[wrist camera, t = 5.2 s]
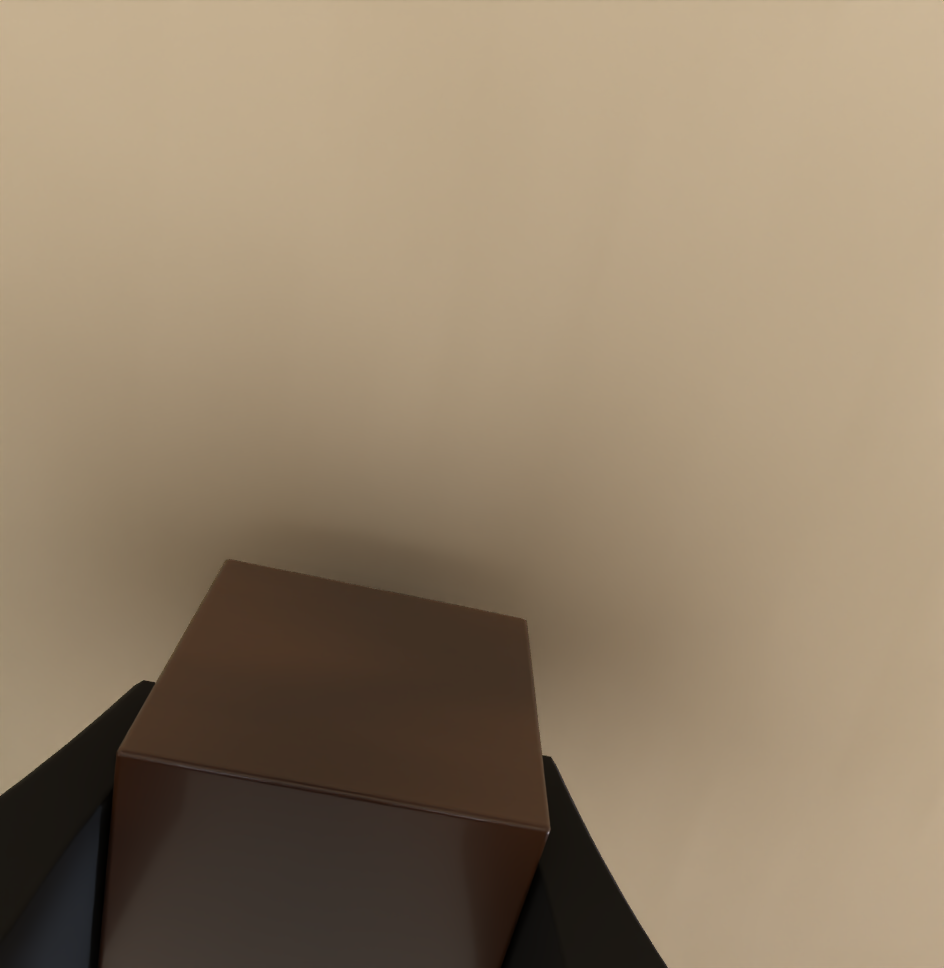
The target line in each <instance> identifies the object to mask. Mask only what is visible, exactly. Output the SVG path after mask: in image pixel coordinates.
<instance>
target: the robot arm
mask: <svg viewBox="0 0 944 968" xmlns="http://www.w3.org/2000/svg"><path fill="white" fill-rule="evenodd" d="M154 685H155V682H150V681H145V680H143V681H142V682H140V683H138V684H136V685H135V686H133V687H132V688H131V689H130V690H129V691H128V692H127V693H126V694H124V695H123V696H122V697H121V698H120V699H119V700H118V701H117V702H116V703H114V704H113V705H112V706H111V707H110V708H109V709H108V710H106V711H105V712H104V713H103V714H102V715H101V716H100V717H98V718H97V719H96V720H95V721H94V722H93V723H91V724H90V725H89V726H88V727H87V728H85V729H84V730H83V731H82V732H81V733H80V734H78V735H77V736H76V737H75V738H74V739H72V740H71V741H70V742H69V743H68V744H66V745H65V746H64V747H63V748H61V749H60V750H59V751H58V752H56V753H55V754H54V755H52V756H51V757H50V758H49V759H47V760H46V761H45V762H44V763H42V764H41V765H40V766H39V767H37V768H36V769H35V770H34V771H32V772H31V773H30V774H28V775H27V776H26V777H25V778H23V779H22V780H21V781H20V782H18V783H17V784H16V785H14V786H13V787H12V788H10V789H9V790H8V791H6V792H5V793H3V794H2V795H1V796H0V968H98V959H99V947H100V936H101V924H102V913H103V901H104V890H105V878H106V867H107V855H108V844H109V832H110V821H111V809H112V798H113V786H114V775H115V763H116V752H117V750H118V748H119V747H120V745H121V743H122V741H123V740H124V738H125V736H126V734H127V733H128V731H129V729H130V727H131V726H132V724H133V722H134V720H135V718H136V717H137V715H138V713H139V711H140V710H141V708H142V706H143V704H144V703H145V701H146V699H147V697H148V696H149V694H150V692H151V690H152V689H153V687H154ZM542 758H543V767H544V776H545V785H546V793H547V802H548V811H549V820H550V829H551V830H550V833H549V836H548V839H547V841H546V844H545V847H544V850H543V852H542V855H541V858H540V861H539V864H538V866H537V869H536V872H535V875H534V877H533V880H532V883H531V886H530V889H529V891H528V894H527V897H526V900H525V902H524V905H523V908H522V911H521V914H520V916H519V919H518V922H517V925H516V927H515V930H514V933H513V936H512V939H511V941H510V944H509V947H508V950H507V952H506V955H505V958H504V961H503V964H502V966H501V968H668V967H667V966H666V964H665V963H664V961H663V959H662V958H661V956H660V955H659V953H658V952H657V950H656V949H655V947H654V945H653V944H652V942H651V941H650V939H649V937H648V936H647V934H646V933H645V931H644V929H643V928H642V926H641V925H640V923H639V921H638V920H637V918H636V916H635V915H634V913H633V911H632V910H631V908H630V906H629V905H628V903H627V901H626V899H625V898H624V896H623V894H622V892H621V891H620V889H619V887H618V885H617V883H616V882H615V880H614V878H613V876H612V874H611V873H610V871H609V869H608V867H607V866H606V864H605V862H604V860H603V858H602V857H601V855H600V853H599V851H598V849H597V847H596V845H595V843H594V841H593V840H592V838H591V836H590V834H589V832H588V830H587V828H586V826H585V824H584V822H583V820H582V818H581V816H580V814H579V812H578V810H577V808H576V806H575V804H574V802H573V800H572V798H571V795H570V793H569V791H568V789H567V787H566V785H565V783H564V781H563V779H562V777H561V775H560V772H559V770H558V768H557V766H556V764H555V763H554V761H553V759H552V758H551V757H550V756H544V755H542Z"/></svg>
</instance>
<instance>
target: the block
mask: <svg viewBox="0 0 944 968" xmlns="http://www.w3.org/2000/svg"><path fill="white" fill-rule="evenodd" d="M550 830H551V829H550V820H549V811H548V802H547V793H546V785H545V776H544V767H543V758H542V750H541V741H540V732H539V723H538V714H537V706H536V697H535V688H534V679H533V670H532V662H531V653H530V644H529V635H528V626H527V621H526V620H525V619H523V618H518V617H513V616H508V615H503V614H498V613H493V612H488V611H483V610H478V609H473V608H468V607H464V606H459V605H454V604H449V603H444V602H439V601H434V600H429V599H424V598H419V597H414V596H409V595H404V594H399V593H394V592H390V591H385V590H380V589H375V588H370V587H365V586H360V585H355V584H350V583H345V582H340V581H335V580H330V579H325V578H320V577H315V576H311V575H306V574H301V573H296V572H291V571H286V570H281V569H276V568H271V567H266V566H261V565H256V564H251V563H246V562H241V561H237V560H232V559H229V560H226V561H225V562H224V564H223V565H222V567H221V569H220V571H219V572H218V574H217V576H216V578H215V580H214V581H213V583H212V585H211V587H210V588H209V590H208V592H207V594H206V595H205V597H204V599H203V601H202V602H201V604H200V606H199V608H198V609H197V611H196V613H195V615H194V616H193V618H192V620H191V622H190V623H189V625H188V627H187V629H186V631H185V632H184V634H183V636H182V638H181V639H180V641H179V643H178V645H177V646H176V648H175V650H174V652H173V653H172V655H171V657H170V659H169V660H168V662H167V664H166V666H165V667H164V669H163V671H162V673H161V675H160V676H159V678H158V680H157V682H156V683H155V685H154V687H153V689H152V690H151V692H150V694H149V696H148V697H147V699H146V701H145V703H144V704H143V706H142V708H141V710H140V711H139V713H138V715H137V717H136V718H135V720H134V722H133V724H132V726H131V727H130V729H129V731H128V733H127V734H126V736H125V738H124V740H123V741H122V743H121V745H120V747H119V748H118V750H117V752H116V763H115V775H114V786H113V798H112V809H111V821H110V832H109V844H108V855H107V867H106V878H105V890H104V901H103V913H102V924H101V936H100V947H99V959H98V968H501V966H502V964H503V961H504V958H505V955H506V952H507V950H508V947H509V944H510V941H511V939H512V936H513V933H514V930H515V927H516V925H517V922H518V919H519V916H520V914H521V911H522V908H523V905H524V902H525V900H526V897H527V894H528V891H529V889H530V886H531V883H532V880H533V877H534V875H535V872H536V869H537V866H538V864H539V861H540V858H541V855H542V852H543V850H544V847H545V844H546V841H547V839H548V836H549V833H550Z"/></svg>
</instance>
